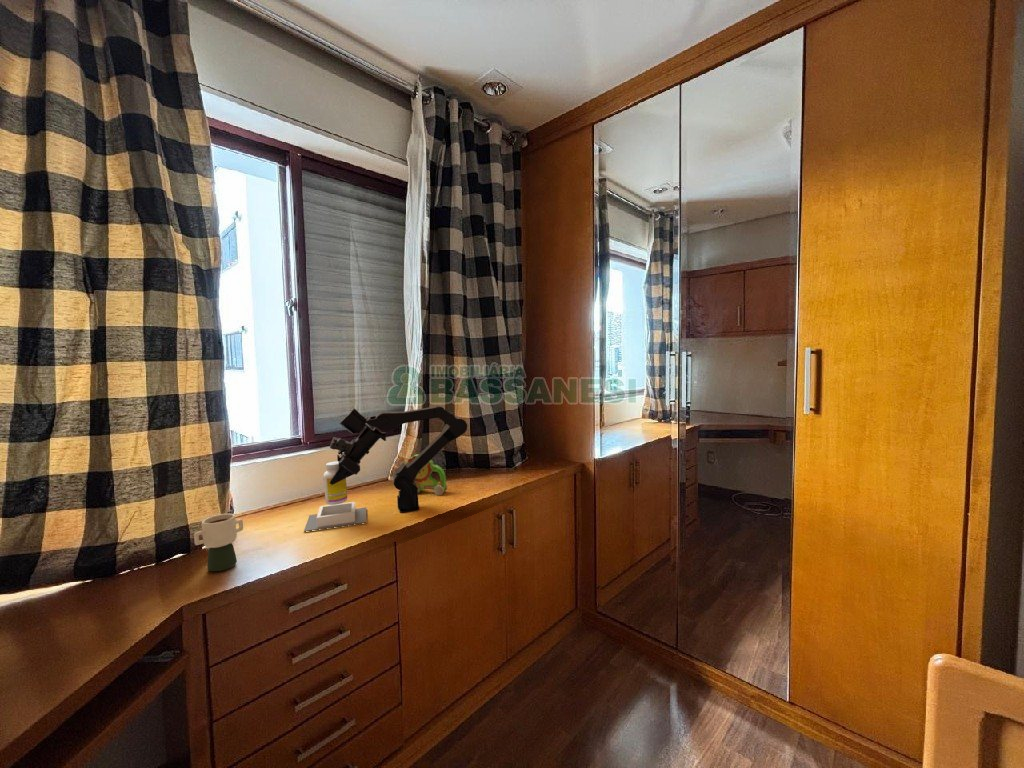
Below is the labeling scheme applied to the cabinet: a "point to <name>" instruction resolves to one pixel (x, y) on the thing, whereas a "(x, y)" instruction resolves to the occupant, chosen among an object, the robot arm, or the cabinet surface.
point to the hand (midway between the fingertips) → (330, 481)
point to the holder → (336, 516)
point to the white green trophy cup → (219, 540)
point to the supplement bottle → (334, 486)
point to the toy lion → (425, 479)
